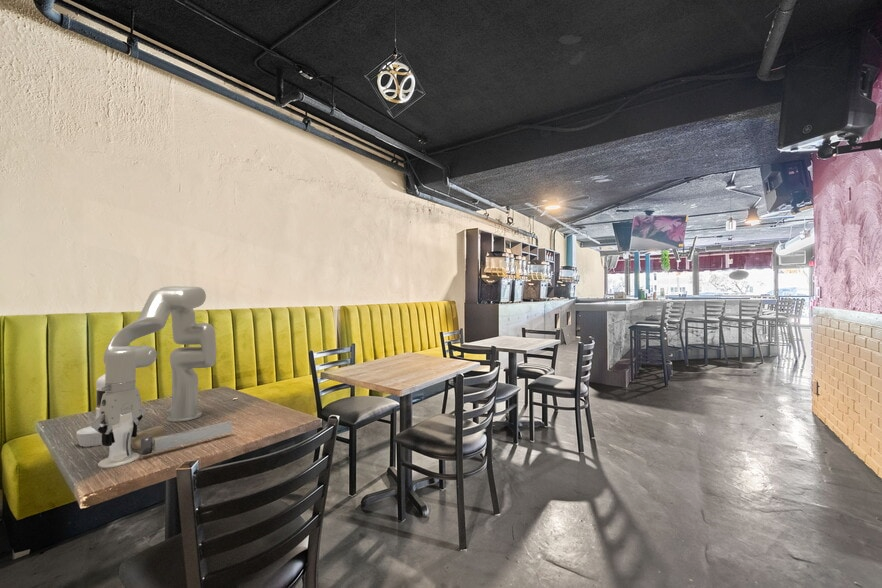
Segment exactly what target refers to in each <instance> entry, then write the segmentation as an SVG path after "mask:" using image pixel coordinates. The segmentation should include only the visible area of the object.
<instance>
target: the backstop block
mask: <svg viewBox="0 0 882 588" xmlns="http://www.w3.org/2000/svg"><path fill="white" fill-rule="evenodd" d="M164 433H165V427H164V426H162V425H156V426H153V427H150V428H148V429H144V430H141V431H140V432H137V436H136V437H132V438H131V443H132V445H131V446H132V447H131V449H132V448H134V449H133V450H141V449H140V448H141V439H142V438H144V437H150V436H151V437H153V439H154V438H158V437H163V436H165V434H164ZM153 439H152V445H153Z"/></svg>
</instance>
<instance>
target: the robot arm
mask: <svg viewBox="0 0 882 588" xmlns="http://www.w3.org/2000/svg"><path fill="white" fill-rule="evenodd" d="M206 298H207V295H206V291H205V289H203V288H202V287H200V286H175V285H174V286H164V287H160V288H159V289H156V290H153V291H152V292H151V293H150V294H149V296H148V298H147V299H146V301H145V304H144V305H143V308H142V310H141V311H140V314H139V316H138V317H137V319H136V320H134V321H131V323H129V324H127V325H126V326H124V327H123V328H121V329H120V330H118V331H117V332H116V333H115V334H114V335H113V336H112V338H111V339H110V341H109V343H108V344H107V346H106V348H105V351H104V354H103V363H104V365H105V370H104V371H105V373H104V374H105V387H102V388H101V390H102V391H105V393H104V394H103V396H102V400H101V405H100V413H99V417H98V418H97V419H96V418H95V420H94V421H93V422H92V423H91V424H90V426H91V427H92V428H94V429H95V430H96V431H98V432H99V433H100V434H102V445H101V446H103V447H109V446H111V445H112V433H110V431H111V429H112V425H116V424H118V423H119V422H120V415H122V414H126V413H129V412H131V411H132V416H133V419H134V427H133V433H132V437H136V436H137V433H138V425H139V424H140V421H141V420H142V419H143V417H144V415H145V414H146V412H147V409H146V408H144V407H142V400H141V394H140V391H139V388H138V387H136V386H137V385H136V382H137V381H136V379H137V377H136V376H137V373H136V372H137V369H138V368H145V367H146V368H147V367H150V366H152V365H153V364H154V363H155V362H156V360H157V358H158V352H157V350H156V349H155V348H154V347H153V346H149V345H130V343H132V342H133V341H135V340H138V339H139V338H142V337H145V336H148V335H151V334H154V333H156V332H159V331H161V330H163V329H164V327H165V326H166V324H167V322H168V321H167V320H168V319H169V316H171V328H172V341H174V343H175V344H177V345H181V346H180V347H177V348H174V349H173V350H172V351H171V353H170V354H169V363H170V368H171V378H172V379H171V383H172V384H171V406H170V407H169V409H168V408H167V409H166V412H167V413H170V414H169V415H168V417H166V418H167V421H168V422H170V423H182V422H187V421H192V420H196V419H198V418H200V417H201V416H202V411H199V410H198V409H199V408H198V406H199V405H198V403H199V401H198V399H199V377H198V374H197V372H196V371H195V369H206V368H207V369H208V368H212V367H213V366H214V365H215V364H216V362H217V361H216V360H217V340H216V331H215V328H214V326H213V325H212V324H211V323H207V322H205V323H204V322H202V323H201V322H199V323H197V321H196V313H195V310H194V309H196V308H199V307H201V306H203V305H204V303H205V301H206ZM183 345H187V346H183ZM188 345H190V346H188ZM191 345H200V346H191ZM100 424H103V426H102V427H101V426H100ZM106 425H108V427H107V429H106Z"/></svg>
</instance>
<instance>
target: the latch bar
mask: <svg viewBox="0 0 882 588" xmlns="http://www.w3.org/2000/svg"><path fill="white" fill-rule="evenodd" d="M232 422H233V421H231V420H227V421H224V422H219V423H214V424H211V425H205V426H202V427H198V428H197V427H196V428H194V429H188V430H185V431H181V432H177V433H171V434H167V435H164V436H163V437H158V438H154V439H153V437H151V436H150V437H144V438H142V439H141V449H140V455H141V456H146V455H150V454H152V453H153V452H154V453H157V452H160V451H164V450H168V449H172V448H176V447H179V446H184V445H187V444H191V443H195V442H198V441H203V440H206V439H211V438H215V437H218V436H221V435H225V434H230V433H233V429H232V428H233V425H232V424H233V423H232ZM152 439H153V444H152Z"/></svg>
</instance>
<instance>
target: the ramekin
mask: <svg viewBox="0 0 882 588" xmlns="http://www.w3.org/2000/svg"><path fill="white" fill-rule="evenodd" d="M100 426H101V427H102V426H103V424H100ZM75 435H76V437H77V440H78V445H79V446H80V447H82V446H83V447H82V448H89V447H90V446H93V447H99V446H103V445H102V434H100V433H99V432H98V431H96V430H95V429H94V428H92V427H91V425H89V426H87V427H83V428H81V429H79V430H77V431H76V432H75ZM90 448H91V447H90Z"/></svg>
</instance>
